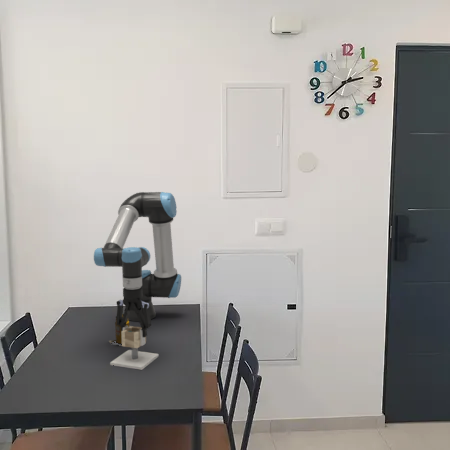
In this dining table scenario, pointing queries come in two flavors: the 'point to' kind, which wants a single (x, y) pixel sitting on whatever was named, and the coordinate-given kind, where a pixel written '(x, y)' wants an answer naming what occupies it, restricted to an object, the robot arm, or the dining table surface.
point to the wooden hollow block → (131, 337)
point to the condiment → (118, 332)
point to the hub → (134, 359)
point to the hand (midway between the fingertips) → (134, 343)
